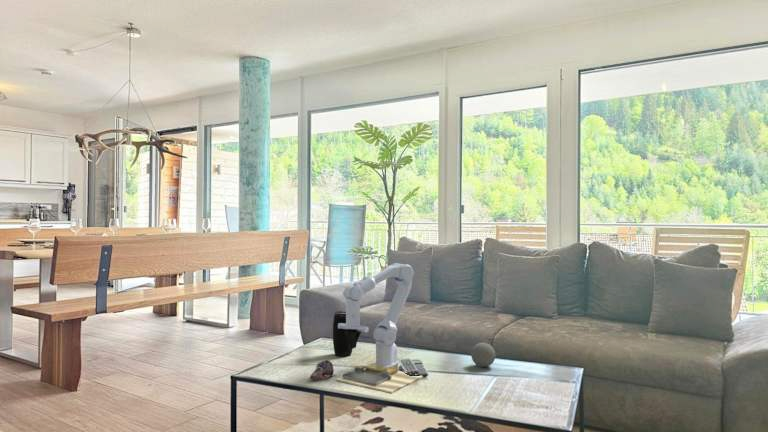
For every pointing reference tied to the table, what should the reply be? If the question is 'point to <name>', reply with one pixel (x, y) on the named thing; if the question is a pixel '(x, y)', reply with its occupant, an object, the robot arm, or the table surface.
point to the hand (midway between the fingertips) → (353, 347)
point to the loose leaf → (382, 369)
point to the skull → (322, 370)
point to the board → (387, 382)
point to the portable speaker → (340, 336)
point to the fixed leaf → (367, 376)
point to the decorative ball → (483, 354)
